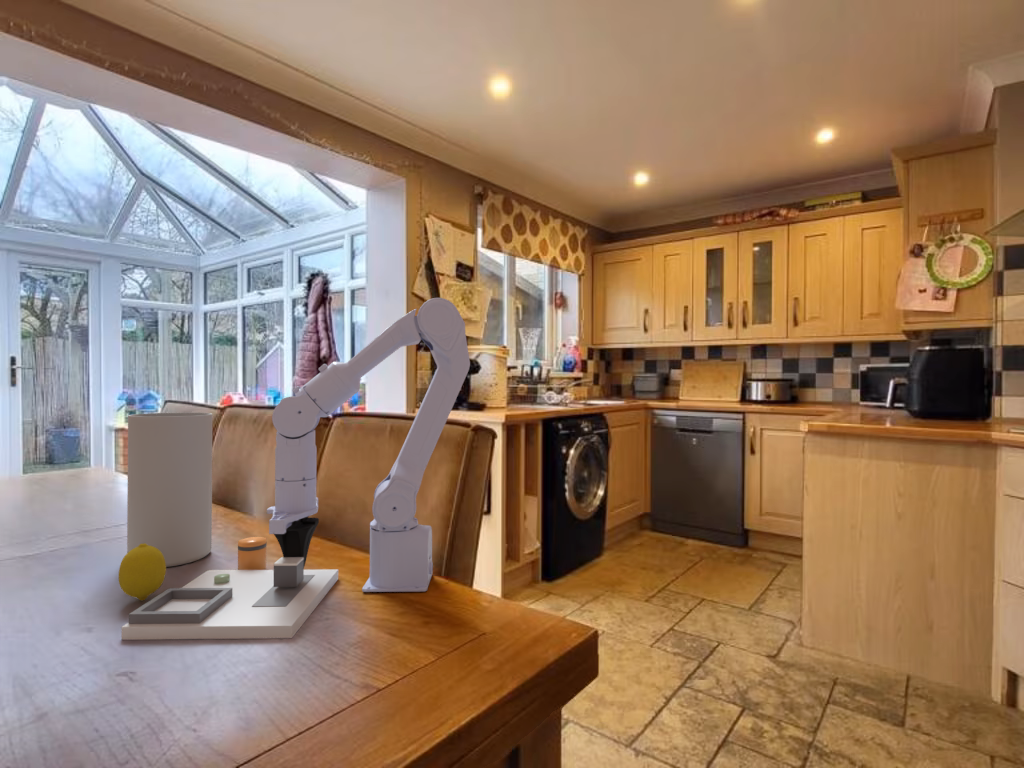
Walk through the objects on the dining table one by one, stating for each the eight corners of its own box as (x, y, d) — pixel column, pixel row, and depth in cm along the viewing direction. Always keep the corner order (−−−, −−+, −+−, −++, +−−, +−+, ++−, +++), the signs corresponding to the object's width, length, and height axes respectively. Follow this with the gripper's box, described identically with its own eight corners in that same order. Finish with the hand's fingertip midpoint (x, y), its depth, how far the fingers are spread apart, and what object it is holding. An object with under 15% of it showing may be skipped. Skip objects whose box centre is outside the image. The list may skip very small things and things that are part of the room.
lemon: (142, 610, 74) (142, 550, 74) (108, 606, 75) (108, 547, 75) (175, 594, 79) (175, 539, 79) (142, 591, 81) (143, 536, 81)
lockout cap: (270, 566, 92) (270, 536, 92) (259, 575, 88) (260, 544, 88) (244, 566, 92) (245, 536, 92) (232, 575, 87) (233, 544, 87)
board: (338, 578, 86) (338, 561, 86) (291, 638, 66) (291, 615, 66) (208, 579, 86) (208, 562, 86) (121, 639, 66) (121, 617, 66)
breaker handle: (303, 579, 80) (303, 557, 80) (296, 586, 77) (296, 563, 77) (281, 579, 80) (281, 557, 80) (273, 587, 77) (273, 563, 77)
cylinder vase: (109, 563, 93) (110, 415, 93) (179, 543, 104) (180, 411, 104) (160, 574, 88) (161, 417, 88) (227, 551, 100) (228, 413, 99)
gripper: (287, 470, 89) (286, 554, 89) (246, 487, 74) (245, 588, 74) (331, 470, 89) (331, 554, 89) (299, 487, 74) (298, 588, 74)
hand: (295, 569), depth 81 cm, fingers closed
